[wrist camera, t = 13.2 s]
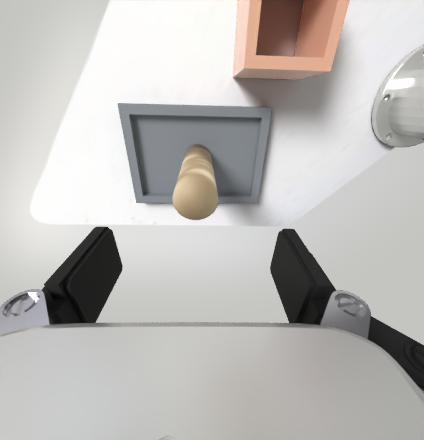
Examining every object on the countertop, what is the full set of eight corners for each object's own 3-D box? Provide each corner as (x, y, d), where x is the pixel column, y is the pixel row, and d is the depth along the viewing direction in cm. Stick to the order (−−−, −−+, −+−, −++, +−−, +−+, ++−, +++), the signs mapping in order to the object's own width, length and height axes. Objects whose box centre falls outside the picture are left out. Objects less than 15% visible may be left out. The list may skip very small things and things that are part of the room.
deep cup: (315, -15, 22) (368, -70, 15) (296, 79, 26) (330, 71, 19) (239, -20, 21) (256, -77, 14) (233, 77, 26) (243, 68, 19)
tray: (268, 107, 28) (272, 107, 26) (255, 198, 35) (257, 203, 33) (122, 103, 27) (117, 103, 25) (139, 198, 34) (136, 202, 32)
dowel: (211, 144, 29) (219, 178, 16) (210, 171, 31) (217, 219, 18) (184, 143, 29) (170, 178, 16) (185, 170, 31) (174, 220, 18)
